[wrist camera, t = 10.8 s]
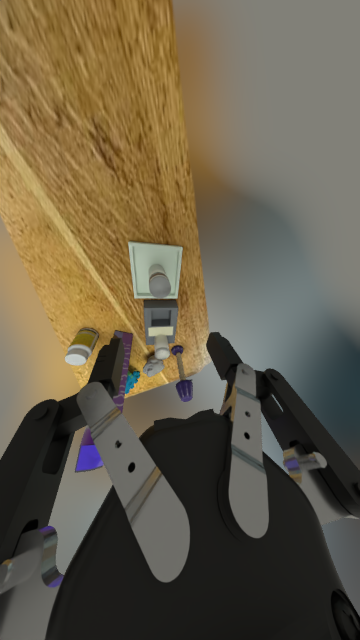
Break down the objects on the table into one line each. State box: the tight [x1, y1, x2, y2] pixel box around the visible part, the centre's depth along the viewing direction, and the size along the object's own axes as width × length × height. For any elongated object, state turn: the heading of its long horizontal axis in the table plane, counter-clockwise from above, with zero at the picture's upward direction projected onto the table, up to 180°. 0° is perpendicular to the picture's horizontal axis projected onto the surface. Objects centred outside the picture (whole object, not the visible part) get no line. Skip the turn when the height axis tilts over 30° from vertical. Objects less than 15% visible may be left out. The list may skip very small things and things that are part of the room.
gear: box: [125, 370, 140, 394], centre depth 47 cm, size 11×6×10 cm
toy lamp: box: [171, 346, 193, 402], centre depth 39 cm, size 5×5×17 cm
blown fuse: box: [148, 264, 171, 298], centre depth 25 cm, size 4×4×8 cm
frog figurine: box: [143, 355, 164, 377], centre depth 43 cm, size 6×7×7 cm
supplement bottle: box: [65, 328, 99, 365], centre depth 32 cm, size 5×5×8 cm
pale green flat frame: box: [128, 241, 183, 298], centre depth 28 cm, size 11×10×2 cm
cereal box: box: [75, 330, 133, 472], centre depth 32 cm, size 17×5×24 cm, turn 154°
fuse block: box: [144, 300, 178, 360], centre depth 33 cm, size 12×8×10 cm, turn 174°
